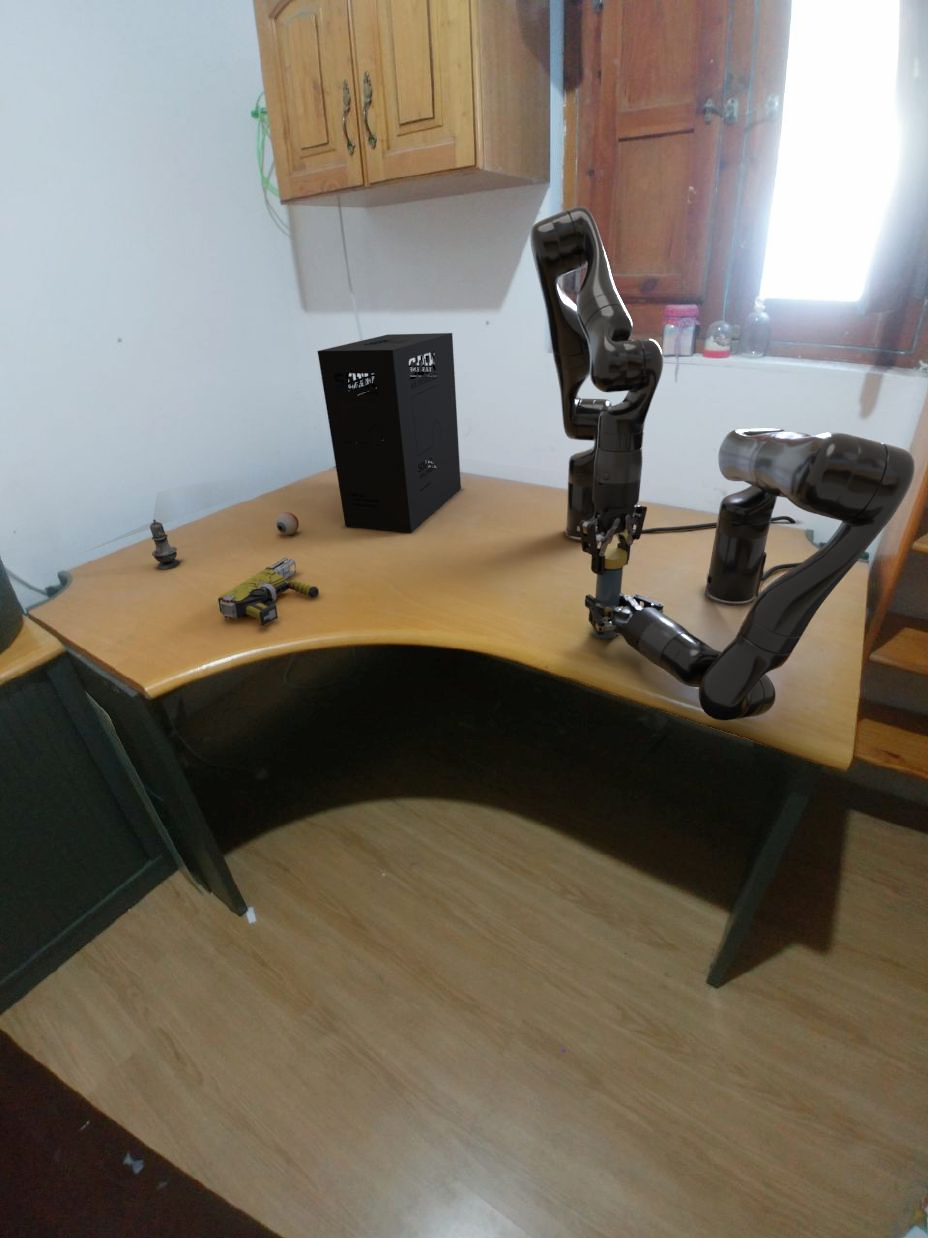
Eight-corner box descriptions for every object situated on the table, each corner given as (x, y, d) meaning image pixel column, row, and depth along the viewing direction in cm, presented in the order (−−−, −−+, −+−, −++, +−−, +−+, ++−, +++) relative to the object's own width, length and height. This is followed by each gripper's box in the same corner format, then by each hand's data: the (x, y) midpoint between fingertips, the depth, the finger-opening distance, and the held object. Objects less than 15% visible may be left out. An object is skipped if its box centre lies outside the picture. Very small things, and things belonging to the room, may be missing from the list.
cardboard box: (403, 484, 198) (387, 334, 176) (460, 488, 192) (452, 332, 169) (345, 526, 168) (317, 350, 145) (411, 532, 161) (392, 349, 139)
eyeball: (273, 537, 164) (268, 516, 161) (287, 528, 169) (282, 508, 166) (291, 539, 161) (286, 518, 158) (305, 530, 166) (301, 510, 163)
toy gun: (338, 566, 137) (282, 554, 141) (276, 612, 117) (212, 597, 121) (339, 585, 140) (283, 573, 144) (278, 633, 120) (216, 618, 124)
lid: (590, 558, 108) (591, 548, 107) (619, 554, 108) (619, 545, 108) (601, 570, 103) (602, 561, 102) (631, 566, 104) (632, 557, 103)
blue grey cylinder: (595, 639, 111) (600, 563, 103) (591, 627, 115) (595, 552, 107) (619, 638, 111) (626, 562, 103) (614, 626, 115) (620, 551, 107)
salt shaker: (171, 569, 148) (156, 523, 142) (150, 569, 149) (135, 523, 143) (185, 560, 153) (172, 515, 147) (165, 559, 154) (151, 514, 148)
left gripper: (630, 461, 104) (622, 551, 113) (568, 478, 97) (565, 573, 106) (665, 470, 99) (654, 564, 107) (602, 489, 92) (595, 588, 100)
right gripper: (697, 608, 99) (631, 569, 112) (625, 630, 94) (566, 586, 108) (690, 647, 103) (628, 604, 116) (621, 669, 98) (564, 622, 112)
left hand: (609, 568), depth 106 cm, fingers closed on lid, 5 cm apart
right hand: (598, 596), depth 112 cm, fingers closed on blue grey cylinder, 4 cm apart
